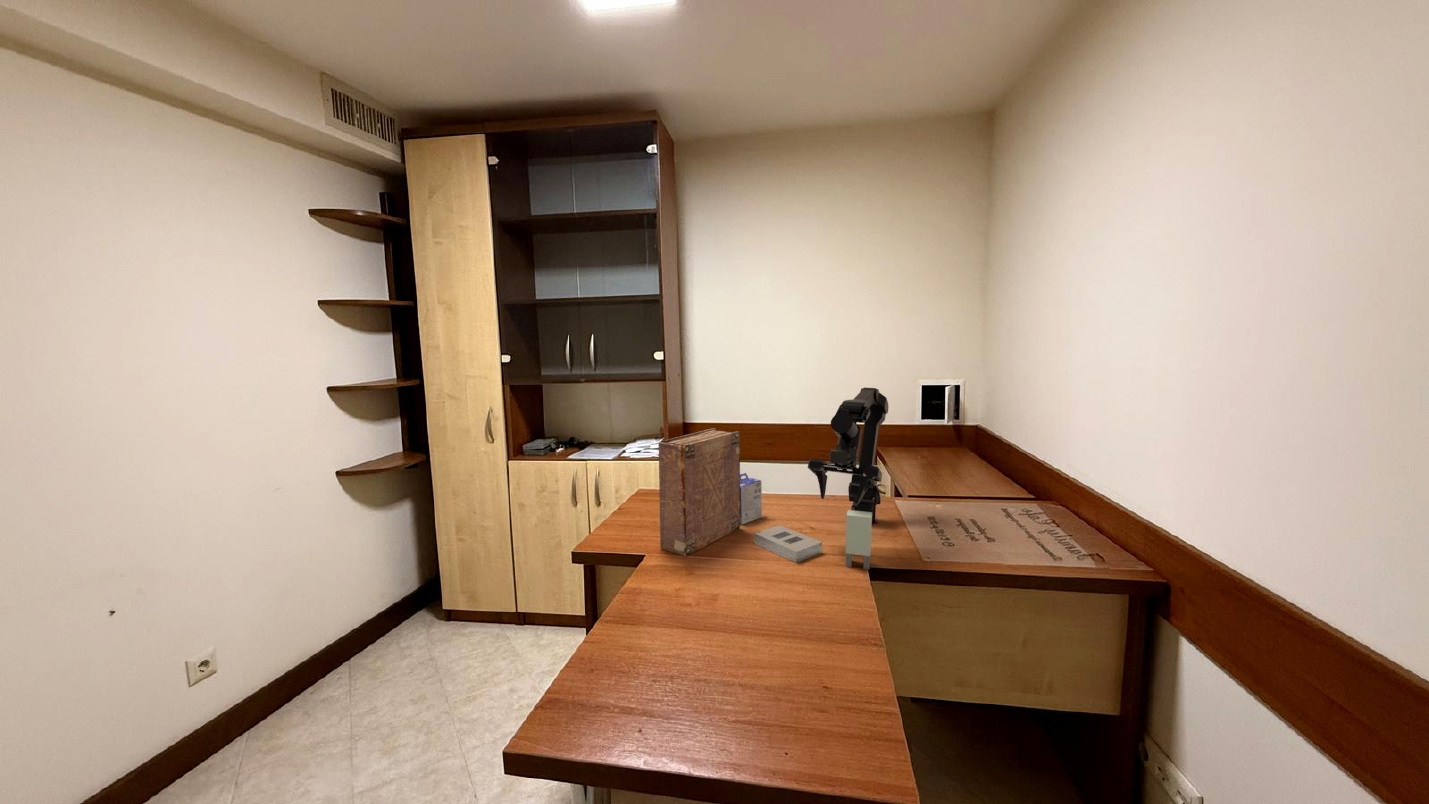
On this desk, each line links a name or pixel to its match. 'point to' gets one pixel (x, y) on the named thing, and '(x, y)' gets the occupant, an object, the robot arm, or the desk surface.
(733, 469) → the book
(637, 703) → the desk surface
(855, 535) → the clip
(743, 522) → the ink cartridge box
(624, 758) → the desk surface
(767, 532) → the grey slotted base
